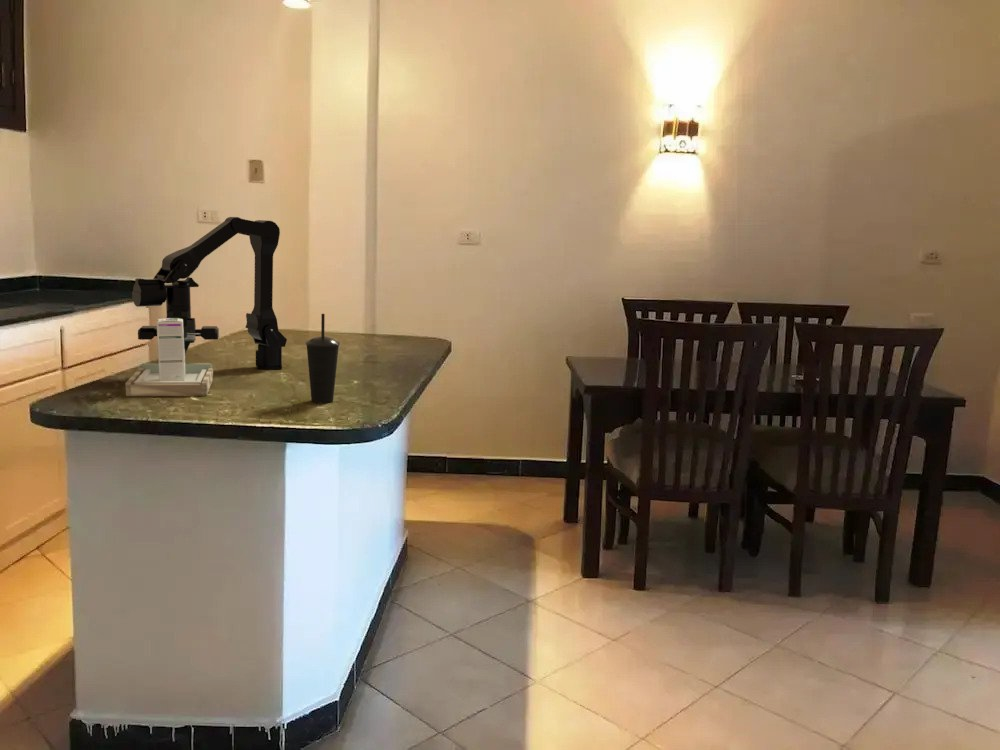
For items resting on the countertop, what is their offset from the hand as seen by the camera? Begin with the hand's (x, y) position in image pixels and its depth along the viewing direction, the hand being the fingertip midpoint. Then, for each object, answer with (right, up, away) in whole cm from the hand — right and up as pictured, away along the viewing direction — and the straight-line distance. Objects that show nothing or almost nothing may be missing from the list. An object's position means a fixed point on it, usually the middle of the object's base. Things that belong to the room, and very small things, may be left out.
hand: (180, 366), depth 209 cm
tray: (+3, -5, -13) cm, 14 cm away
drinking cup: (+41, -8, -21) cm, 47 cm away
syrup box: (+4, -4, -15) cm, 16 cm away
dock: (+4, -5, -15) cm, 16 cm away
